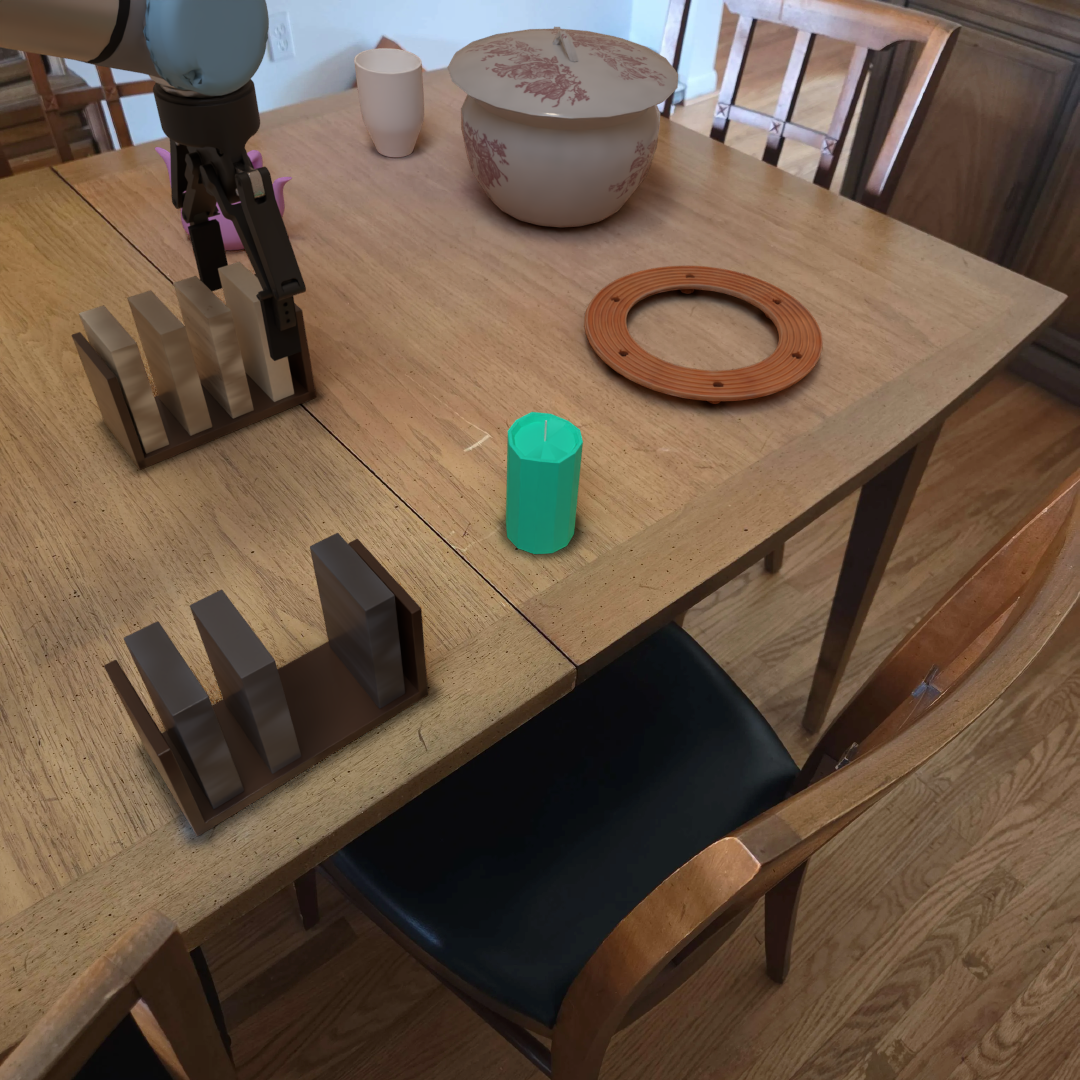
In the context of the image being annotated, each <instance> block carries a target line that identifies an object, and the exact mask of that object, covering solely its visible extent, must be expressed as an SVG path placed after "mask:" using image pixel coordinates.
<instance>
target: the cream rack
mask: <svg viewBox="0 0 1080 1080" xmlns="http://www.w3.org/2000/svg"><path fill="white" fill-rule="evenodd" d="M253 274H254V275H255V276H256V273H253ZM256 277H257V276H256ZM172 285H173V288H174V292H175V295H176V299H177V303H178V306H179V309H180V314H181V317H182V318H181V319H182V321H183V322H181V320H180V319H179V318H178V317H177V316H176V314H174V313H173V312H172V311H171V310H170V309H169V307H168V306H167V305H165V303H164V302H163V301H162V300H161V299H160V298H159V297H158V296H157V295H156V294H155V292H153V291H152V290H151V289H150V290H147V291H144V292H140V293H138V294H137V293H136V294H134V295H130V296H128V297H127V298H126V299H127V303H128V306H129V309H130V312H131V315H132V318H133V321H134V325H135V328H136V331H137V334H138V337H139V340H140V343H141V346H142V350H143V353H144V357H145V359H146V362H147V365H148V368H149V372H150V374H151V375H150V376H151V378H152V381H153V384H154V387H155V391H156V394H157V395H154V391H153V389H152V386H151V383H150V380H149V376H148V374H147V371H146V368H145V364H144V361H143V357H142V354H141V352H140V349H139V346H138V343H137V342H136V340H135V339H134V337H132V336H131V334H130V333H129V332H128V331H127V330H126V328H125V327H124V326H123V325H122V324H121V323H120V321H118V319H117V318H116V317H115V316H114V315H113V313H111V311H110V310H109V309H108V308H107V307H106V306H105V305H100V306H97V307H94V308H90V309H88V310H84V311H80V312H79V313H78V315H79V318H80V321H81V324H82V326H83V329H84V331H85V334H86V337H87V338H86V337H85V335H84V334H83V333H82V332H80V331H79V332H75V333H73V334H71V338H72V341H73V343H74V346H75V348H76V352H77V354H78V356H79V359H80V361H81V364H82V367H83V369H84V373H85V375H86V378H87V380H88V382H89V385H90V388H91V390H92V394H93V396H94V399H95V402H96V404H97V406H98V410H99V411H100V414H101V417H102V420H103V422H104V425H105V426H106V427H107V429H108V430H109V431H110V433H111V434H112V436H113V437H114V438H115V439H116V440H117V442H118V443H119V445H120V446H121V448H122V449H123V450H124V451H125V453H126V454H127V455H128V457H129V458H130V459H131V461H132V462H133V464H135V466H136V467H137V469H138V470H140V471H141V470H144V469H145V468H149V467H150V466H153V465H155V464H158V463H160V462H162V461H165V460H167V459H169V458H172V457H174V456H177V455H179V454H182V453H185V452H187V451H189V450H192V449H194V448H197V447H199V446H202V445H204V444H206V443H208V442H211V441H214V440H216V439H218V438H221V437H224V436H226V435H228V434H231V433H234V432H235V431H238V430H241V429H243V428H245V427H248V426H250V425H253V424H256V423H257V422H260V421H263V420H265V419H267V418H270V417H272V416H275V415H277V414H279V413H282V412H284V411H287V410H289V409H292V408H294V407H297V406H299V405H301V404H304V403H307V402H309V401H311V400H313V399H316V398H317V392H316V385H315V381H314V380H315V379H314V373H313V368H312V362H311V355H310V349H309V343H308V338H307V332H306V326H305V325H306V324H305V319H304V313H303V309H302V308H301V307H300V306H299V305H298V304H297V303H295V302H294V304H295V311H296V317H297V323H298V330H299V336H300V342H301V349H302V351H301V352H298V353H295V354H293V355H290V356H287V357H288V362H289V368H290V373H291V378H292V384H293V389H294V394H293V395H291V396H288V397H286V398H283V399H281V400H278V401H276V402H274V401H273V400H272V399H271V398H270V397H269V396H268V395H267V394H266V393H265V392H264V391H263V390H262V389H261V388H260V387H259V386H258V385H257V384H256V383H255V381H254V380H253V379H252V378H251V377H250V376H249V375H248V374H247V373H246V372H245V369H244V365H243V360H242V356H241V352H240V347H239V343H238V339H237V334H236V330H235V325H234V321H233V317H232V312H231V310H230V309H229V308H228V307H227V306H226V303H225V302H224V301H222V300H221V299H220V298H219V296H217V295H216V294H215V293H214V291H211V290H210V289H209V288H208V287H207V286H206V285H205V284H204V283H203V282H202V281H201V280H200V277H199V276H197V275H194V276H190V277H187V278H184V279H181V280H178V281H175V282H173V284H172Z"/></svg>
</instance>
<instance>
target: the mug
mask: <svg viewBox="0 0 1080 1080" xmlns="http://www.w3.org/2000/svg"><path fill="white" fill-rule="evenodd" d="M353 62H354V70H355V71H354V72H355V76H356V77H355V78H356V79H355V80H356V87H357V94H358V102H359V108H360V114H361V118H362V121H363V123H364V126H365V127H366V128H365V129H366V130H367V132H368V134H369V136H370V138H371V140H372V142H373V145H374V147H375V149H376V151H377V152H378V153H379V154H380V155H382V156H385V157H388V158H403V157H407V156H409V155H411V154H412V153H414V152H413V151H414V148H415V146H416V144H417V141H418V138H419V136H420V132H421V129H422V127H423V125H424V118H425V93H424V92H425V91H424V77H423V61H422V58H421V57H420V56H419V55H417V54H416V53H413V52H411V51H408V50H405V49H399V48H390V47H381V48H379V47H377V48H371V49H366V50H363V51H361V52H359V53H357V54H356V55H355V56H354V58H353Z"/></svg>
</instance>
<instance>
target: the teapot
mask: <svg viewBox="0 0 1080 1080" xmlns="http://www.w3.org/2000/svg"><path fill="white" fill-rule="evenodd" d="M154 151H155V152H156V153H157V154H158V155H159V156H160V158H161V159H162V160H163V162H164V164H165V166H166V169H167V173H168V179H169V184H170V186H171V160H170V151H168V150H166V149H165V148H163V147H159V146H156V147H154ZM247 155H248V156H249V158H250V160H251V162H252V164H253V167H254V169H257V168H261V167H264V162H263V160H264V159H263V155H262V153H261V151H259V150H257V149H251V150H249V151H248V152H247ZM292 179H293V177H292V176H281V177H278V178H276V179H274V181H272V185H273V190H274V194H275V199H276V202H277V205H278V208H279V210H280V213H281V216H282V217H283V216H284V214H285V207H286V206H285V197H284V187H285V185H286V184H287V183H288V182H289V181H291V180H292ZM184 192H186V191H184ZM184 192H183V193H184ZM238 203H241V202H237V203H233V204H238ZM216 206H217V208H218V210H219V211H218V213H220V215H216V216H213V217H209V218H208V219H209V221H210V220H213V219H216V220H217V221H218V222H219V224H220V229H221V234H222V238H223V243H224V248H225V251H238V250H239V251H240V250H245V249H244V247H243V245H242V242H241V240H240V238H239V236H238V233H237V231H236V229H235V227H234V224H233V222H232V221H231V220H229V219H226V218H225V217H224V216H223V214H222V212H221V210H220V208H219V205H218V203H216ZM180 220H181V224H182V225H181V226H182V228H183V229H184V231H185V233H186V234H187V235H188V236H189V237H190V234H189V230H188V226H190V223H188V224H187V223H186V222H185V220H184V219H183V217H182V208H180Z"/></svg>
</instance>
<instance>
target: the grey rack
mask: <svg viewBox="0 0 1080 1080" xmlns="http://www.w3.org/2000/svg"><path fill="white" fill-rule="evenodd" d="M309 551H310V557H311V561H312V566H313V571H314V577H315V581H316V586H317V590H318V596H319V600H320V605H321V610H322V616H323V620H324V626H325V631H326V635H327V641H326V642H324V643H323V644H321V645H319V646H317V647H315V648H314V649H311V650H310V651H308V652H306V653H305V654H303V655H301V656H298V657H297V658H295V659H294V660H292V661H290V662H288V663H286V664H285V665H283V666H281V667H278V666H277V665H278V664H277V662H276V659H275V658H274V656H273V655H272V654H271V653H270V651H269V650H268V649H267V647H266V646H265V645H264V643H263V642H262V640H261V639H260V638H259V636H258V635H257V634H256V632H255V631H254V630H253V628H252V627H251V626H250V625H249V623H248V622H247V620H246V619H245V618H244V617H243V615H242V614H241V613H240V611H239V610H238V609H237V607H236V606H235V605H234V603H233V601H232V600H231V599H230V597H229V596H228V595H227V593H226V592H225V590H223V589H220V590H219V589H218V591H215V592H213V593H211V594H210V595H207V596H205V597H203V598H201V599H199V600H197V601H195V602H193V603H190V604H189V609H190V611H191V614H192V617H193V620H194V622H195V625H196V628H197V631H198V633H199V636H200V639H201V642H202V644H203V647H204V650H205V653H206V655H207V658H208V661H209V664H210V667H211V669H212V672H213V675H214V677H215V680H216V683H217V686H218V689H219V692H220V694H221V697H222V699H221V700H219V701H217V702H215V703H214V704H213V703H212V701H211V699H210V695H209V694H208V693H207V692H206V689H204V686H203V685H202V684H201V683H200V681H199V680H198V677H196V675H195V673H194V672H193V671H192V669H191V667H190V666H189V664H188V663H187V661H186V660H185V658H184V656H183V655H182V654H181V652H180V651H179V650H178V648H177V647H176V645H175V643H174V642H173V641H172V639H171V638H170V636H169V635H168V633H167V632H166V630H165V629H164V627H163V625H162V624H161V622H160V621H158V620H157V621H154V622H153V623H150V624H148V625H147V626H144V627H143V628H140V629H139V630H136V631H134V632H132V633H129V634H128V635H126V636H124V637H123V641H124V644H125V645H126V648H127V650H128V652H129V654H130V656H131V658H132V660H133V663H134V665H135V667H136V669H137V672H138V673H139V676H140V678H141V681H142V682H143V685H144V686H145V689H146V690H147V693H148V695H149V697H150V700H151V701H152V704H153V706H154V708H155V710H156V712H157V714H158V717H159V719H160V721H161V723H162V725H163V728H164V729H165V730H164V731H163V732H161V730H160V728H159V727H158V725H157V724H156V722H155V720H154V719H153V716H152V715H151V714H150V712H149V710H148V709H147V707H146V705H145V704H144V702H143V700H142V699H141V697H140V696H139V694H138V692H137V690H136V689H135V688H134V685H133V684H132V683H131V680H130V679H129V678H128V676H127V674H126V673H125V671H124V669H123V668H122V666H121V664H120V663H119V661H118V660H117V659H114V660H111V661H110V662H108V663H106V664H104V665H103V667H104V670H105V671H106V673H107V675H108V677H109V679H110V681H111V684H112V686H113V688H114V689H115V692H116V693H117V695H118V697H119V700H120V701H121V703H122V705H123V707H124V709H125V712H126V714H127V715H128V717H129V719H130V722H131V724H132V725H133V727H134V729H135V732H136V733H137V735H138V737H139V739H140V741H141V743H142V745H143V747H144V749H145V751H146V753H147V755H148V756H149V758H150V760H151V762H152V763H153V765H154V766H155V768H156V769H157V772H158V773H159V775H160V776H161V778H162V780H163V782H164V783H165V785H166V787H167V788H168V790H169V792H170V794H171V795H172V797H173V799H174V801H175V802H176V804H177V805H178V807H179V809H180V810H181V812H182V814H183V816H184V817H185V819H186V820H187V822H188V824H189V826H190V828H191V829H192V830H193V832H194V834H195V836H196V837H200V836H201V835H203V834H204V833H206V832H207V831H210V830H211V829H212V828H215V827H216V826H217V825H219V824H220V823H222V822H224V821H225V820H227V819H229V818H230V817H232V816H234V815H235V814H237V813H239V812H240V811H242V810H244V809H245V808H247V807H248V806H250V805H251V804H254V803H255V802H257V801H258V800H260V799H262V798H263V797H265V796H266V795H268V794H270V793H271V792H272V791H274V790H276V789H278V788H279V787H280V786H282V785H284V784H286V783H288V782H289V781H291V780H292V779H293V778H295V777H297V776H299V775H300V774H302V773H303V772H305V771H307V770H309V769H310V768H312V767H313V766H315V765H317V764H318V763H320V762H321V761H323V760H325V759H327V758H328V757H329V756H331V755H333V754H335V753H337V752H338V751H339V750H341V749H342V748H344V747H346V746H347V745H350V744H351V743H352V742H354V741H356V740H357V739H359V738H361V737H363V735H366V734H368V732H370V731H372V730H374V729H375V728H377V727H378V726H380V725H382V724H383V723H385V722H387V721H388V720H389V719H392V718H393V717H394V716H396V715H398V714H399V713H402V712H403V711H404V710H406V709H408V708H409V707H411V706H412V705H414V704H416V703H418V702H419V701H421V700H422V699H424V698H426V697H427V696H429V686H428V674H427V663H426V662H427V661H426V651H425V650H426V649H425V638H424V623H423V612H422V607H421V606H420V605H419V604H418V603H417V601H415V600H414V599H413V598H412V596H411V595H410V594H409V593H408V592H407V591H406V590H405V589H404V587H403V586H402V585H401V584H400V583H399V582H398V581H397V580H396V578H394V577H393V576H392V574H390V572H389V571H388V570H387V569H386V568H385V567H384V566H383V565H382V563H380V561H379V560H378V559H377V558H376V557H375V556H374V555H373V553H371V552H370V550H369V549H368V548H367V547H366V546H365V545H364V544H363V543H362V542H361V541H360V540H359V538H356V539H353V540H351V541H350V542H347V541H346V540H345V538H344V537H343V536H342V535H341V534H340V533H339V532H336V533H334V534H331V535H330V536H328V537H325V538H324V539H321V540H320V541H318V542H315V543H314V544H311V545H310V546H309Z"/></svg>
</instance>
